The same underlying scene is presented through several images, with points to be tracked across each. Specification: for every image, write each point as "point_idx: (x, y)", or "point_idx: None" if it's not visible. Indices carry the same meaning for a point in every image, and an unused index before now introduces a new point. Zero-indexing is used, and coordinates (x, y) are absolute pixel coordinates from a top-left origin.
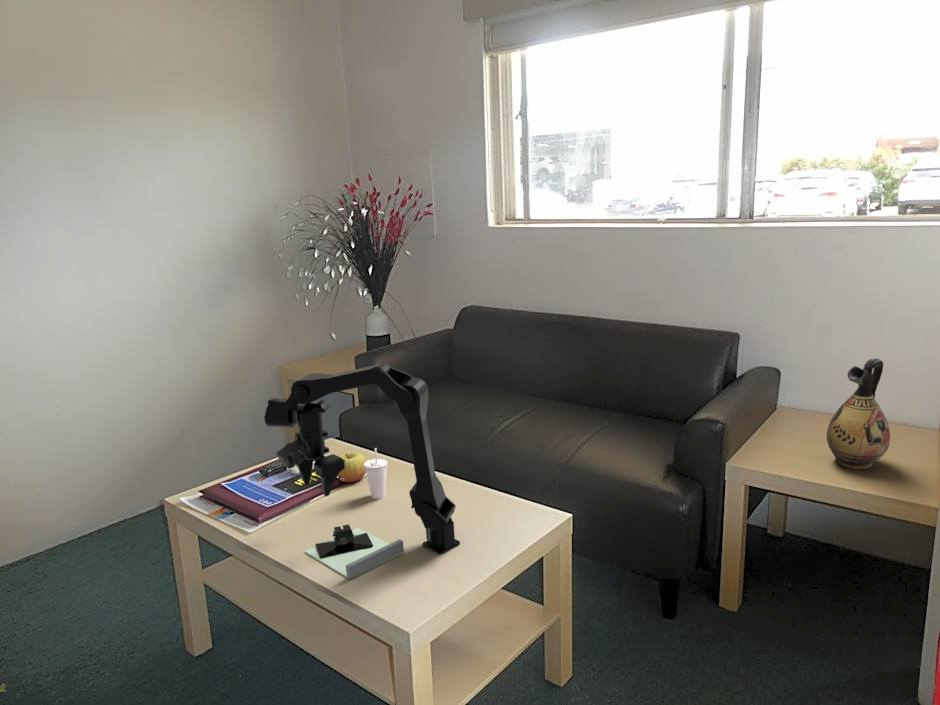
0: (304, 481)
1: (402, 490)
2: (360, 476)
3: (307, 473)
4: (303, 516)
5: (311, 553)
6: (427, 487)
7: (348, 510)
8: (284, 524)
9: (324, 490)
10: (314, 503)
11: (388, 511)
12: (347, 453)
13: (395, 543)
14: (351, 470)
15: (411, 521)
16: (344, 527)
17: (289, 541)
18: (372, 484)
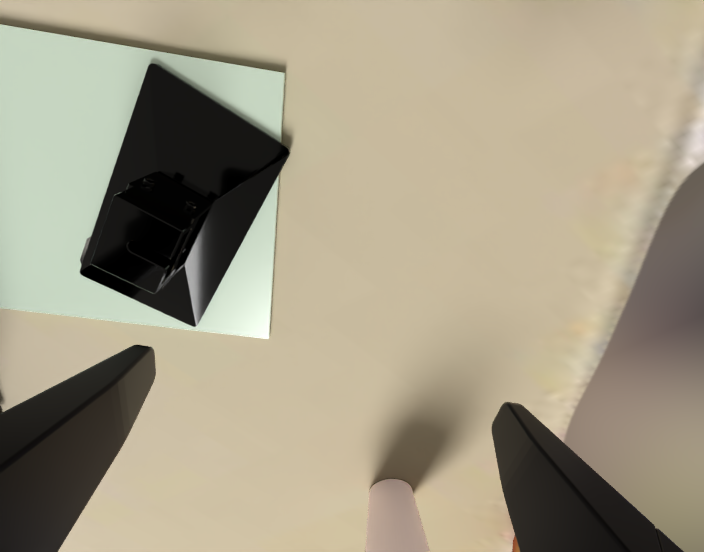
0: (524, 427)
1: (353, 533)
2: (515, 542)
3: (544, 534)
4: (544, 300)
5: (237, 76)
6: None
7: (409, 402)
8: (582, 213)
9: (58, 384)
10: (570, 383)
11: (282, 450)
12: None
13: None
14: None
15: (165, 441)
16: (137, 260)
17: (443, 110)
18: (391, 533)
